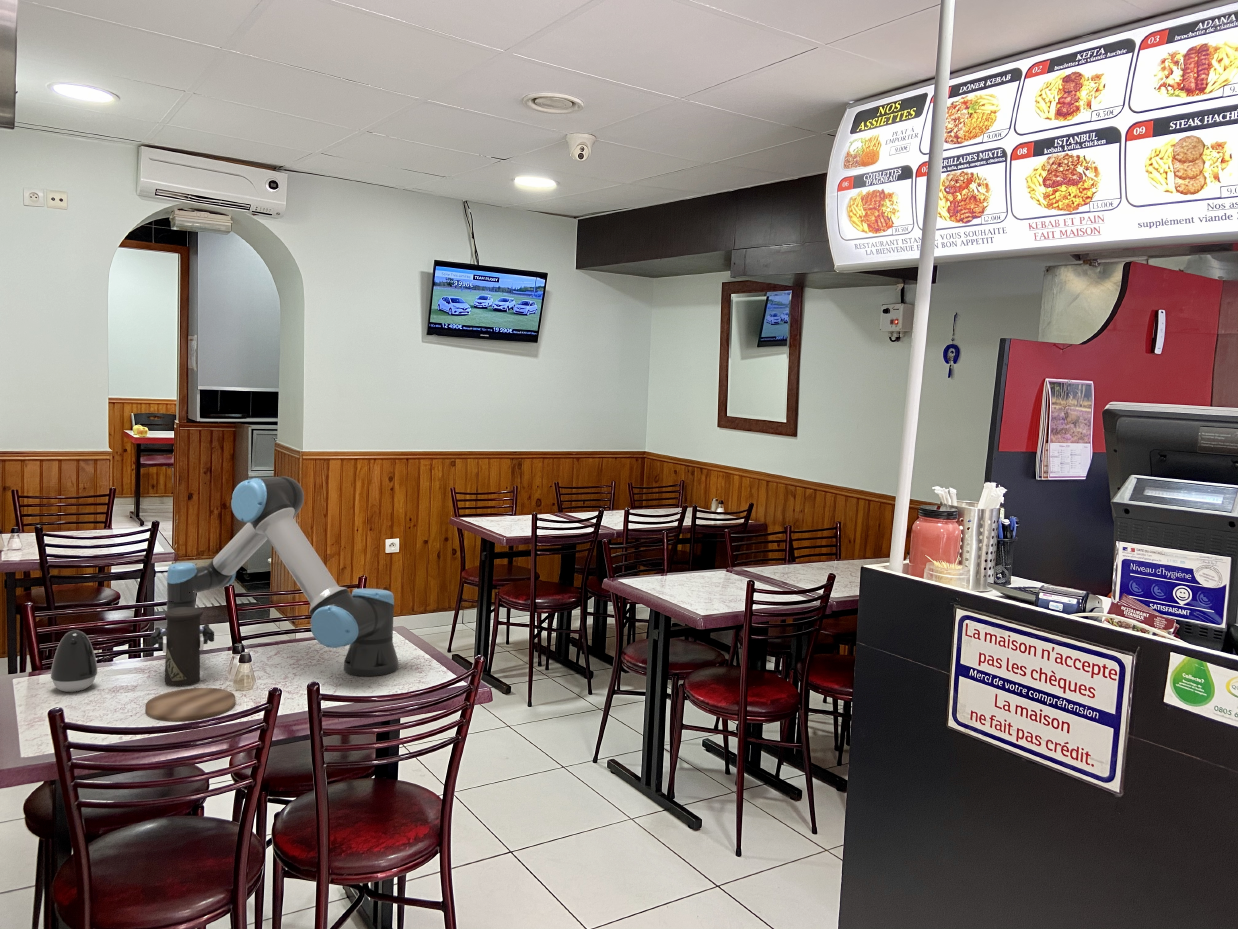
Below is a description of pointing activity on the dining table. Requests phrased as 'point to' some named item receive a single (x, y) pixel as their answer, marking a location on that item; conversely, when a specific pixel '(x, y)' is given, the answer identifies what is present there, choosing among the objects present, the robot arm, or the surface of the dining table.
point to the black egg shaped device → (74, 663)
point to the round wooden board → (190, 704)
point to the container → (183, 646)
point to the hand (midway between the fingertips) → (183, 646)
